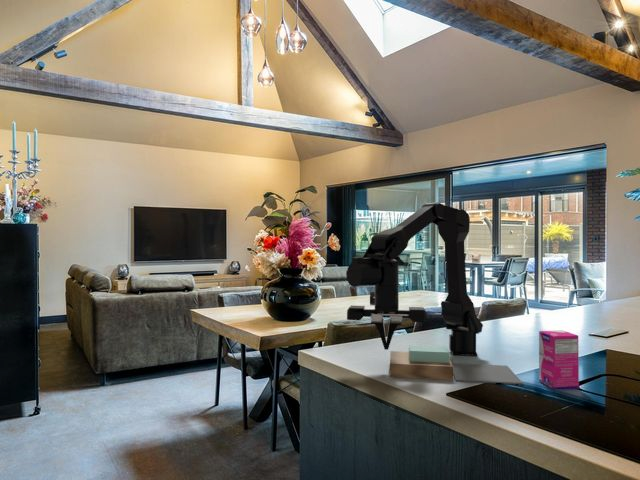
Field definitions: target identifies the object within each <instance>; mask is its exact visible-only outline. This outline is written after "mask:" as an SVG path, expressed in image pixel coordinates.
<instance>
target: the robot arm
mask: <svg viewBox="0 0 640 480" xmlns="http://www.w3.org/2000/svg"><path fill="white" fill-rule="evenodd" d="M470 223H471V222H470V215H469V213H468V212H467V211H466V210H465V209H462V208H461V209H459V208H455V207H451V206H449V205H444V204H442V203H441V202H437V201H436V202H426V203H424V204H423V205H422V206H421V208H419V209H417V210H416V211H415V212H414V213H412V214H411V215H410V216H408V217H406V219H404V220H403V221H401V222H400V223H399V224H397V225H395V226H394V227H391V228H387V229H384V230H381V231H379V232H378V233H377V232H376V233H374V235H373V236H372V237H371V239H370V241H371V242H370V243H369V245H368V247H367V249H366V250H365V252H364V253H363V255H362V257H356V256H354V257H352V258H351V263H350V264H349V265H348V266H347V270H346V272H345V273H346V274H345V275H346V280H347V283H348V285H350V286H351V287H353V288H361V287H372V286H374V291H370V292H369V305H370V306H374V309H371V308H365V305H350V306H348V308H347V310H346V320H347V321H360V320H362V319H363V318H370V324H371V325H375V328H376V329H377V331H378V334H379V336H380V339H381V342H382V345H383V348H384V350H385V351H386V350H387V351H388V350H389V348H390V345H391V342H392V338H393V335H394V334H395V332H396V330H397V328H398V326H402V325H403V321H402V320H403V319H410V320H411V322H413V323H427V321H428V320H427V319H428V318H427V310H426V309H425V308H424V307H422V306H421V307H420V306H419V307H418V306H408V310H407V309H406V310H405V309H404V310H403V309H400V308H399V307H400V306H399V304H400V303H399V281H400V280H399V279H400V278H399V271H400V270H399V267H402V266H403V267H404V266H406V262H405V261H404V260H403V259H401V257H400V255H401V254H402V253H403V252H404V251H405V250H406V249H407V248H408V246H409V242H410V240H411V239H412V238H414V237H415V236H416V235H418V234H419V233H420V232H421V231H423V230H424V229H425V228H427V226H429V225H430V224H433V225H435V226H437V230H438V231H437V232H438V235H439V236H440V237H441V239H442V241H443V242H444V248H445V265H446V283H447V296H446V298H445V300H444V301H443V300H442V301H441V302H440V306H441V314H440V316H442V320H443V322H444V326H445V328H446V330H450V331H451V332H450V334H449V335H448V337H449V339H448V342H449V343H448V350H449V352H451V354H452V355H453V356H472V357H474V356H477V357H478V353H477V335H479V334H480V333H482V331H483V327H484V324H483V323H482V321H481V320H480V319H479V317H478V316H477V315H476V309H475V305H474V302H473V301H472V299H471V297H470V296H469V295H468V289H467V288H468V287H467V272H466V271H467V270H466V269H467V268H466V257H465V241H466V238H467V236H468V235H469V233H470ZM384 318H389V320H388V321H389V322H388V329H387V336H386V330H385V321H384Z"/></svg>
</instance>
